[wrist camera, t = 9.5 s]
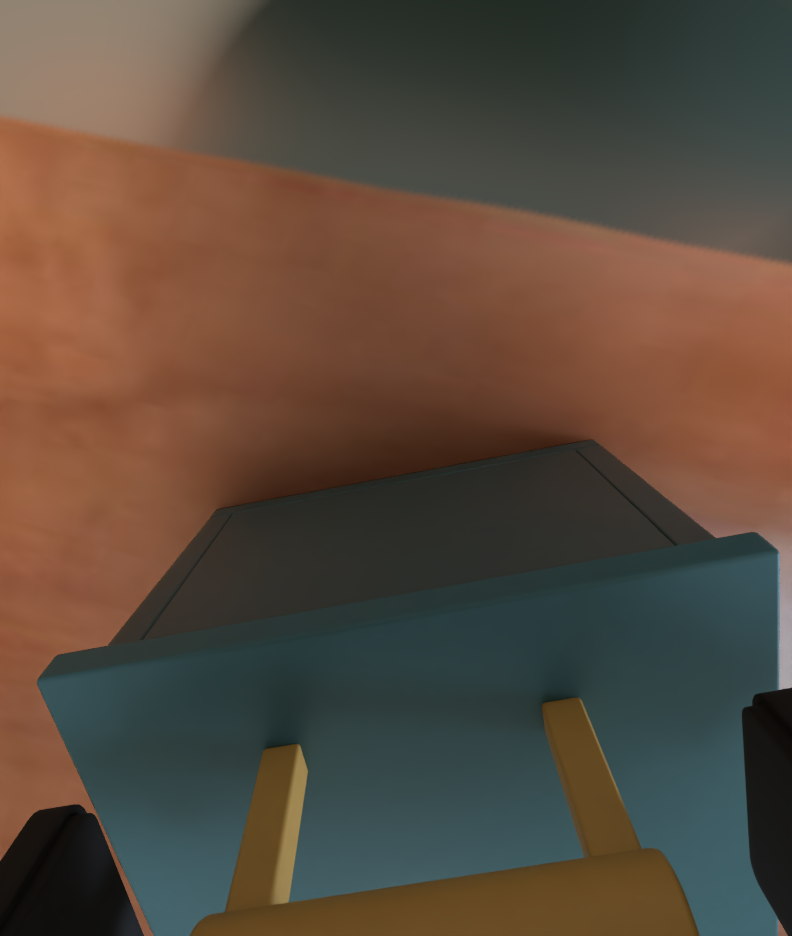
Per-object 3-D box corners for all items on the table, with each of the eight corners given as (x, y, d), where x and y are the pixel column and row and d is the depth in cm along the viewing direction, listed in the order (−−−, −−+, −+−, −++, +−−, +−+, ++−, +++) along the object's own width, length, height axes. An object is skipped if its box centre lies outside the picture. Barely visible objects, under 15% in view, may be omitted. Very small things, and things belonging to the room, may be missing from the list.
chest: (215, 509, 22) (100, 650, 14) (593, 438, 21) (722, 541, 13) (320, 875, 26) (282, 1161, 18) (639, 827, 25) (760, 1099, 17)
